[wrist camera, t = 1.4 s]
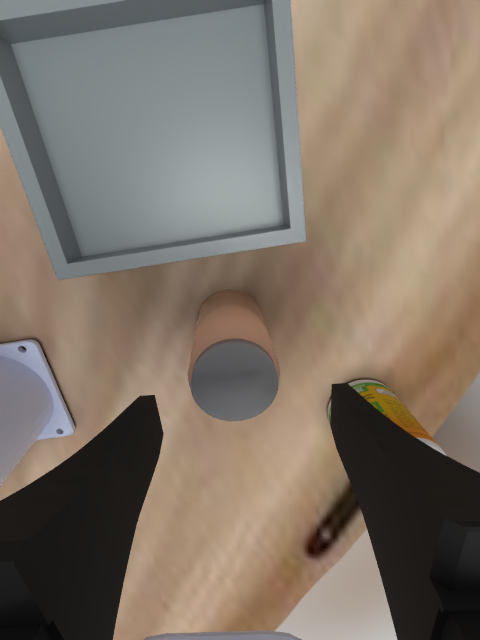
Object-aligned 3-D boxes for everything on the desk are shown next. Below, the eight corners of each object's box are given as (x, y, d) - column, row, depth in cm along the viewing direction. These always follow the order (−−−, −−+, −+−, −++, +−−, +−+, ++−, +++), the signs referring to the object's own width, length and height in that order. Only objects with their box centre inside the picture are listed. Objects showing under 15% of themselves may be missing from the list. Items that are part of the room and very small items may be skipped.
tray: (77, 270, 20) (58, 280, 18) (-6, 30, 15) (-46, 1, 13) (296, 235, 20) (306, 241, 18) (277, -14, 15) (287, -52, 13)
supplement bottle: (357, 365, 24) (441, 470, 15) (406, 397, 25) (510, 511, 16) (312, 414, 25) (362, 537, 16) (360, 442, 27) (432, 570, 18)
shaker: (204, 353, 23) (196, 430, 15) (192, 295, 21) (176, 350, 14) (265, 343, 23) (286, 416, 15) (257, 284, 21) (277, 334, 14)
